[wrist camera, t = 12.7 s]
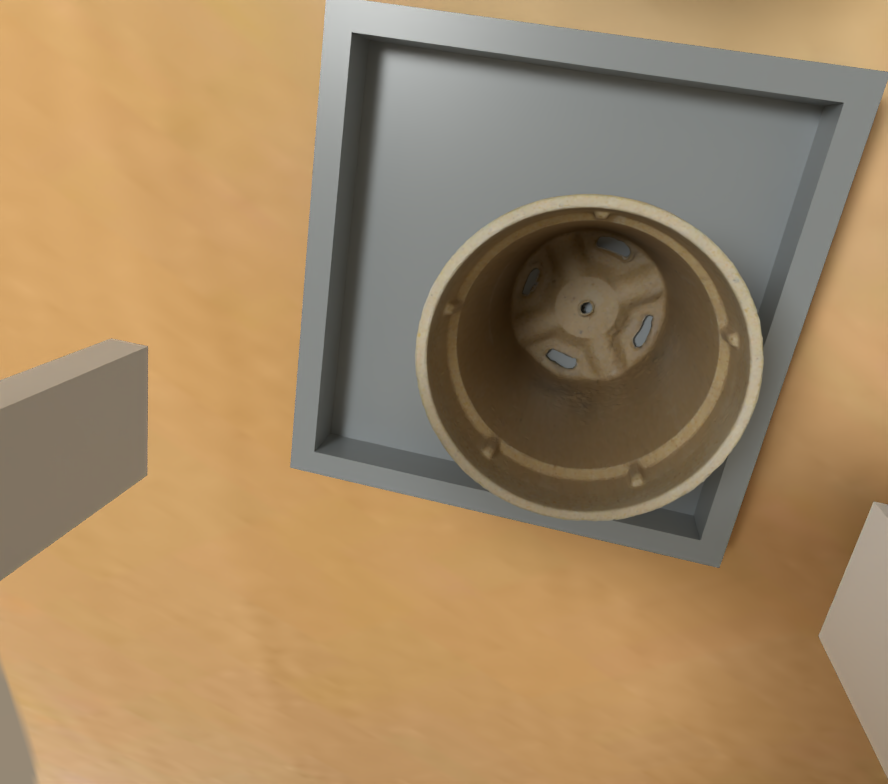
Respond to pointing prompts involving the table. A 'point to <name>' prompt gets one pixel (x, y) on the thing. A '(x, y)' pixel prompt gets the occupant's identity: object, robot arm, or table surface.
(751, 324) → the flower pot
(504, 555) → the table surface
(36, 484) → the robot arm
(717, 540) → the tray
